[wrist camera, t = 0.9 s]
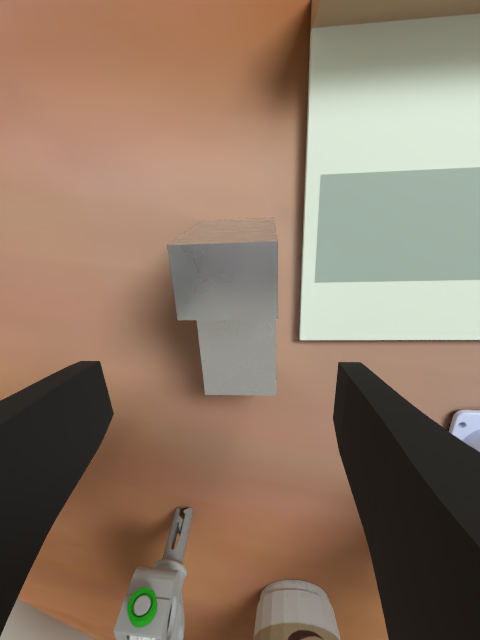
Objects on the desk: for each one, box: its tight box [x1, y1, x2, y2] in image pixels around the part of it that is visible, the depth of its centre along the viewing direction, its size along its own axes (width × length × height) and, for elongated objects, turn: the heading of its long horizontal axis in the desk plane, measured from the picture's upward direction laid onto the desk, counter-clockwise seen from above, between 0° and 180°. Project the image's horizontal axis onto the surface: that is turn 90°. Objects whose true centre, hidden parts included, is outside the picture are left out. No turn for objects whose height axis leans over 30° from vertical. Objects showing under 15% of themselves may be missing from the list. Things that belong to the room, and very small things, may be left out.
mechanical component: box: [114, 507, 193, 640], centre depth 24 cm, size 3×10×10 cm, turn 179°
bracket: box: [167, 217, 278, 396], centre depth 16 cm, size 9×4×7 cm, turn 3°
